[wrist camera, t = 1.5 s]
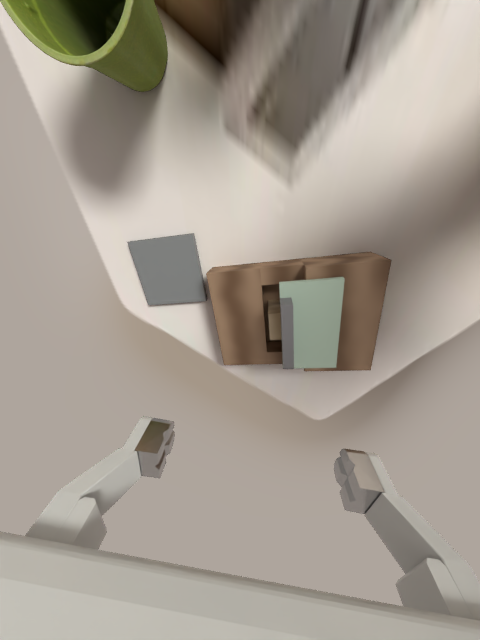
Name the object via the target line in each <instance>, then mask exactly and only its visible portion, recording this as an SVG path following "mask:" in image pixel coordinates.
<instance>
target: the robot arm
mask: <svg viewBox="0 0 480 640" xmlns="http://www.w3.org/2000/svg"><path fill="white" fill-rule="evenodd" d="M173 428H174V422H173V421H169V420H163V419H157V418H152V417H146V416H143V417H142V418H141V419H140V420H139V422H138V423H137V425H136V427H135V428H134V430H133V431H132V433H131V435H130V436H129V438H128V440H127V441H126V443H125V445H124V446H123V448H122V449H120V448H119V449H117V450H116V451H114V452H113V453H111V454H110V455H109V456H107V457H106V458H104V459H103V460H102V461H100V462H99V463H97V464H96V465H94V466H93V467H92V468H90V469H89V470H88V471H86V472H85V473H83V474H82V475H80V476H79V477H77V478H76V479H75V480H73V481H72V482H70V483H69V484H68V485H66V486H65V487H64V488H62V489H61V490H59V491H58V492H57V494H56V495H55V496H54V498H53V499H52V500H51V502H50V503H49V504H48V506H47V507H46V508H45V510H44V511H43V512H42V514H41V515H40V516H39V518H38V519H37V520H36V522H35V523H34V524H33V526H32V527H31V528H30V530H29V531H28V533H27V534H26V535H25V536H22V535H16V534H11V533H6V532H0V640H480V582H479V580H478V578H477V577H476V575H475V573H474V572H473V570H472V568H471V567H470V565H469V564H468V563H467V562H466V561H465V559H464V558H463V557H462V556H461V555H460V554H459V553H458V552H456V550H454V548H453V547H452V546H451V545H450V544H449V543H448V542H447V541H446V540H445V539H444V538H443V537H442V536H441V535H440V534H439V533H438V532H437V531H436V530H435V529H434V528H433V527H432V526H431V525H430V524H429V523H428V522H427V521H426V520H425V519H424V518H423V517H422V516H421V515H420V514H419V513H418V512H417V511H416V510H415V509H414V508H413V507H412V506H411V505H410V504H409V503H408V502H407V501H406V500H405V499H404V498H403V497H402V496H400V495H398V493H397V491H396V489H395V488H394V485H393V484H392V481H391V479H390V477H389V475H388V473H387V472H386V469H385V468H384V465H383V463H382V461H381V459H380V458H379V456H378V455H377V454H375V453H368V452H363V451H356V450H350V449H342V450H341V451H340V456H341V457H339V458H337V459H336V461H335V464H334V472H335V477H336V481H337V482H338V483H339V485H340V486H341V490H340V495H341V498H342V502H343V505H344V509H345V510H347V511H352V512H356V513H362V514H365V517H366V518H367V520H368V521H369V523H370V524H371V525H372V527H373V528H374V530H375V531H376V533H377V534H378V535H379V537H380V538H381V540H382V541H383V543H384V544H385V545H386V547H387V548H388V550H389V551H390V552H391V554H392V555H393V557H394V558H395V559H396V561H397V562H398V564H399V565H400V567H401V568H402V570H403V571H404V573H405V575H404V576H403V577H402V578H400V579H399V580H398V581H397V583H396V587H397V590H398V592H399V595H400V598H401V601H402V604H403V606H404V607H403V606H397V605H392V604H387V603H381V602H376V601H371V600H366V599H360V598H355V597H350V596H344V595H339V594H333V593H328V592H323V591H317V590H312V589H306V588H301V587H295V586H290V585H284V584H279V583H274V582H268V581H264V580H258V579H252V578H247V577H242V576H237V575H231V574H226V573H220V572H215V571H210V570H204V569H199V568H194V567H188V566H183V565H178V564H172V563H166V562H161V561H156V560H150V559H145V558H140V557H134V556H129V555H124V554H118V553H113V552H107V551H102V550H98V549H99V547H100V545H101V543H102V541H103V539H104V537H105V535H106V533H107V531H106V527H105V524H104V521H103V519H102V515H103V514H104V513H105V512H106V511H107V510H109V509H110V507H112V506H113V505H114V504H115V503H116V502H117V501H118V500H119V499H120V498H121V497H122V496H123V495H124V494H125V493H126V492H127V491H128V490H129V489H130V488H131V487H132V486H133V485H134V484H135V483H136V482H137V481H138V480H139V479H140V478H141V476H147V477H154V478H160V477H161V474H162V472H163V469H164V467H165V464H166V456H167V455H168V454H169V453H170V451H171V449H172V446H173V442H174V436H175V434H174V431H173Z"/></svg>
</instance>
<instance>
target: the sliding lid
mask: <svg viewBox="0 0 480 640" xmlns="http://www.w3.org/2000/svg"><path fill="white" fill-rule="evenodd" d="M344 281H345V278H344V277H334V278H322V279H310V280H298V281H286V282H279V292H280V315H281V339H282V362H283V369H294V368H336V363H337V353H338V343H339V332H340V322H341V312H342V301H343V291H344Z"/></svg>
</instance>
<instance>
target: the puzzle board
mask: <svg viewBox="0 0 480 640" xmlns="http://www.w3.org/2000/svg"><path fill="white" fill-rule="evenodd" d="M390 265H391V260H390V259H387V258H385V257H382V256H380V255H377V254H375V253H372V252H364V253H354V254H343V255H333V256H323V257H313V258H303V259H293V260H283V261H273V262H263V263H252V264H242V265H232V266H222V267H213V268H212V269H211V270H210V271H208V272H207V273H206V275H207V280H208V285H209V290H210V295H211V301H212V306H213V311H214V316H215V321H216V326H217V331H218V336H219V342H220V347H221V352H222V357H223V362H224V365H246V364H283V362H282V340H270V332H269V318H268V300H277V299H280V292H279V282H286V281H298V280H310V279H322V278H334V277H344V278H345V281H344V291H343V301H342V312H341V322H340V332H339V343H338V353H337V363H336V368H304V371H346V370H371V365H372V360H373V355H374V349H375V344H376V339H377V333H378V328H379V323H380V317H381V312H382V307H383V302H384V296H385V291H386V286H387V280H388V275H389V270H390Z"/></svg>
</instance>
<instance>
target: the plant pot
mask: <svg viewBox="0 0 480 640" xmlns="http://www.w3.org/2000/svg"><path fill="white" fill-rule="evenodd" d="M0 2H1V3H2V5H3V7H4V8H5V10H6V11H7V13H8V14H9V16H10V17H11V19H12V20H13V21H14V23H15V24H16V25H17V27H18V28H19V29H20V30H21V31H22V33H23V34H24V35H25V36H26V37H27V38H28V39H29V40H30V41H31V42H32V43H33V44H34V45H35V46H37V47H38V48H39V49H40V50H42V51H43V52H44V53H46V54H47V55H49V56H51V57H52V58H54V59H56V60H58V61H60V62H63V63H66V64H70V65H75V66H86V67H90V68H93V69H95V70H97V71H99V72H101V73H103V74H105V75H106V76H108V77H110V78H112V79H114V80H116V81H118V82H120V83H122V84H123V85H125V86H127V87H129V88H131V89H133V90H136V91H140V92H144V91H149V90H151V89H153V88H154V87H156V86H157V85H158V84H159V82H160V81H161V79H162V77H163V74H164V70H165V66H166V62H167V57H168V51H167V41H166V36H165V33H164V29H163V26H162V23H161V21H160V18H159V15H158V12H157V9H156V6H155V3H154V0H0ZM122 12H123V14H122ZM121 14H122V16H121ZM111 34H112V35H111Z"/></svg>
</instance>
